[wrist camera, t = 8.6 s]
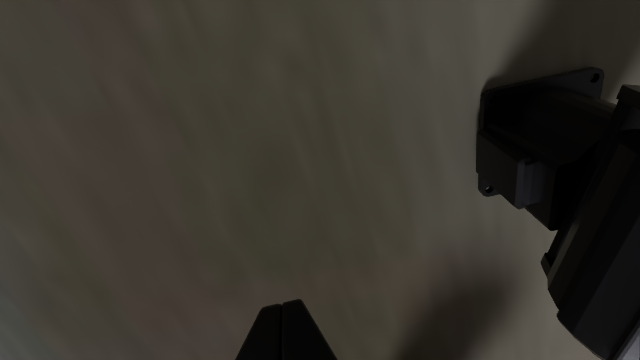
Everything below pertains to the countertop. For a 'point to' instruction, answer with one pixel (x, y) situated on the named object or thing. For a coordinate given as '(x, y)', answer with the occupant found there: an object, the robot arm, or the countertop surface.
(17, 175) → the countertop surface
